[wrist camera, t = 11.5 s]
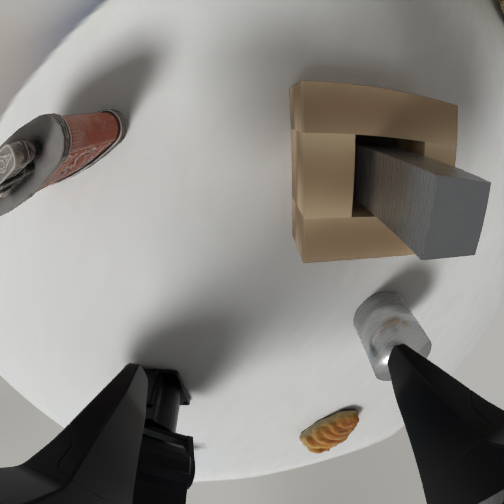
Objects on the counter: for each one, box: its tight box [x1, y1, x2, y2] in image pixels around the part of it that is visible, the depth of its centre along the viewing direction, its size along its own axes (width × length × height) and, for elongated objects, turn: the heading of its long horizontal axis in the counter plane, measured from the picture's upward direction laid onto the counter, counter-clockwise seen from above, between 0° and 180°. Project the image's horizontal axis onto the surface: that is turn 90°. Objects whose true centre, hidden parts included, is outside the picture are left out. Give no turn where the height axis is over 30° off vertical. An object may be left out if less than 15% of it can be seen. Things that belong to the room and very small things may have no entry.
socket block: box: [289, 81, 458, 263], centre depth 15 cm, size 10×10×4 cm
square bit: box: [353, 141, 491, 260], centre depth 13 cm, size 3×3×10 cm
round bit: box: [354, 291, 431, 381], centre depth 21 cm, size 5×5×6 cm
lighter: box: [0, 109, 127, 216], centre depth 11 cm, size 8×3×10 cm, turn 110°
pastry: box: [300, 411, 359, 453], centre depth 32 cm, size 9×7×4 cm
